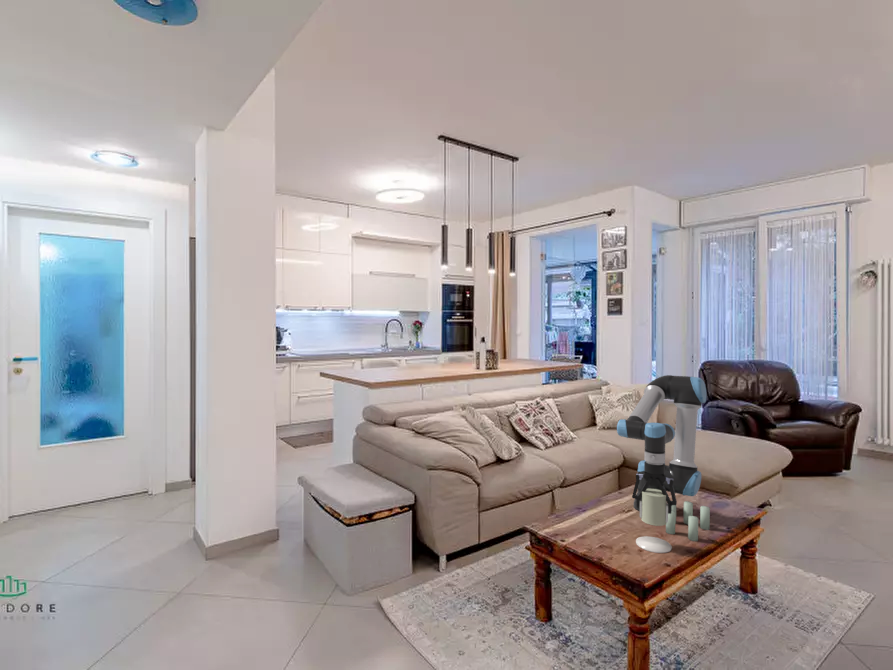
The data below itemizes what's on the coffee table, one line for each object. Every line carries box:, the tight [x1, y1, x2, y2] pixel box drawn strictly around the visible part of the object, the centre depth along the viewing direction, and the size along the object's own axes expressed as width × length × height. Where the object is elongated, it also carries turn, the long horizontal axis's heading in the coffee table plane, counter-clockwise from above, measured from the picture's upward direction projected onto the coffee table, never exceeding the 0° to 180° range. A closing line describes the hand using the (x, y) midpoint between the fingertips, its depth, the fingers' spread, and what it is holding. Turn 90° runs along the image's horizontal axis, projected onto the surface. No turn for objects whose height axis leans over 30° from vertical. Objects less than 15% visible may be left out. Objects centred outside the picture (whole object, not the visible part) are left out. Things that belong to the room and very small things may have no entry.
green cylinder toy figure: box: [640, 489, 667, 527], centre depth 186 cm, size 9×9×12 cm
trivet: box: [635, 535, 673, 554], centre depth 186 cm, size 13×13×1 cm
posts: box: [665, 501, 711, 542], centre depth 200 cm, size 17×21×9 cm
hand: (653, 518), depth 186 cm, fingers closed on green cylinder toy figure, 9 cm apart
